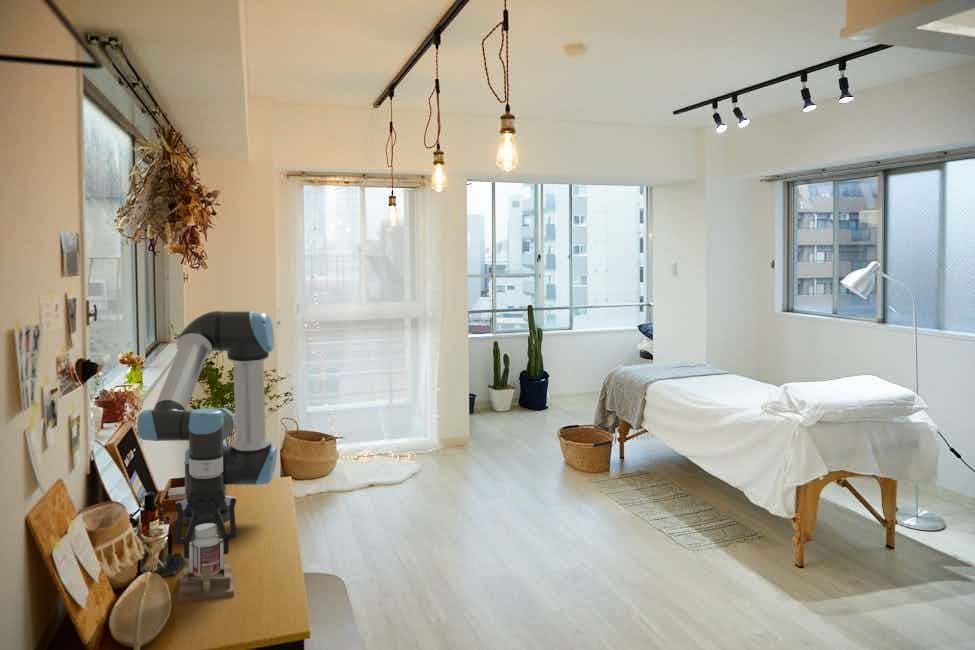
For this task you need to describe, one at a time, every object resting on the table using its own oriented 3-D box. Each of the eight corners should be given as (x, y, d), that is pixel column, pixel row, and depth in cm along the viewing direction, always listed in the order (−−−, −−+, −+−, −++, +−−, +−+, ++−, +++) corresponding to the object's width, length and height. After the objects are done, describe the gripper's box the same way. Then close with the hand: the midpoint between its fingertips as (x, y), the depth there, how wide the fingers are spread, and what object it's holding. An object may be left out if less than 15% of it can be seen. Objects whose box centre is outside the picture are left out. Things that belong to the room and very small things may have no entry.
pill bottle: (225, 569, 177) (225, 523, 177) (209, 579, 171) (209, 532, 171) (203, 566, 179) (203, 521, 178) (187, 576, 173) (186, 529, 172)
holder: (180, 578, 180) (180, 550, 179) (231, 572, 184) (231, 545, 184) (178, 603, 167) (178, 572, 166) (233, 596, 171) (233, 566, 170)
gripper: (161, 482, 166) (162, 580, 168) (249, 475, 173) (249, 570, 175) (163, 473, 173) (163, 567, 175) (247, 467, 180) (247, 558, 182)
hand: (206, 568), depth 175 cm, fingers closed on pill bottle, 6 cm apart
